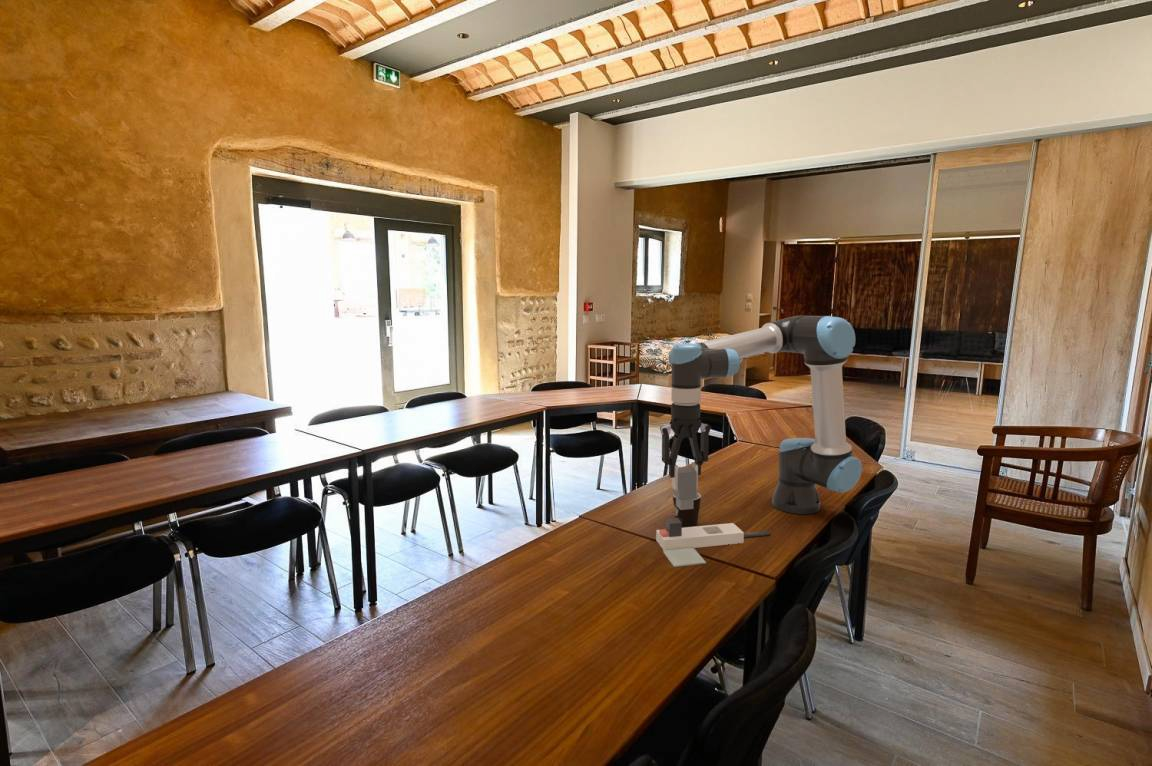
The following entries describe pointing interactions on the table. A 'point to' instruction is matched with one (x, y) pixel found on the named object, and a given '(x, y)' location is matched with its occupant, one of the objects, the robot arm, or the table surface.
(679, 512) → the coffee mug
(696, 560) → the pad
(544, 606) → the table surface
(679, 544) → the strip
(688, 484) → the block
